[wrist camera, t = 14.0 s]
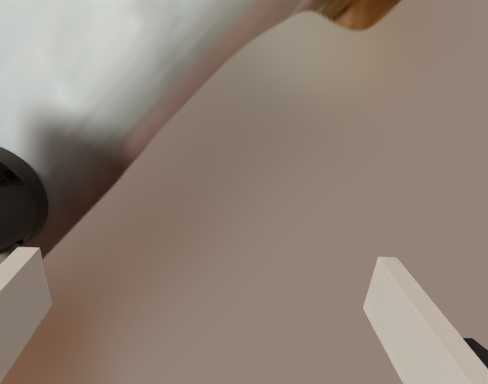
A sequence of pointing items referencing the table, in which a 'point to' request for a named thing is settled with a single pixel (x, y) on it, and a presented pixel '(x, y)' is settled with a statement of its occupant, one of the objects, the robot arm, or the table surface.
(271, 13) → the table surface
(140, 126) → the table surface
